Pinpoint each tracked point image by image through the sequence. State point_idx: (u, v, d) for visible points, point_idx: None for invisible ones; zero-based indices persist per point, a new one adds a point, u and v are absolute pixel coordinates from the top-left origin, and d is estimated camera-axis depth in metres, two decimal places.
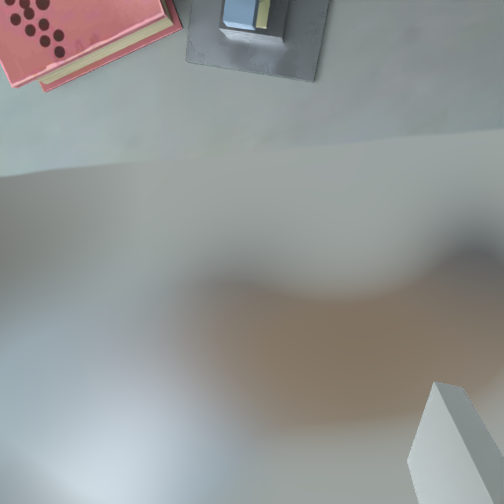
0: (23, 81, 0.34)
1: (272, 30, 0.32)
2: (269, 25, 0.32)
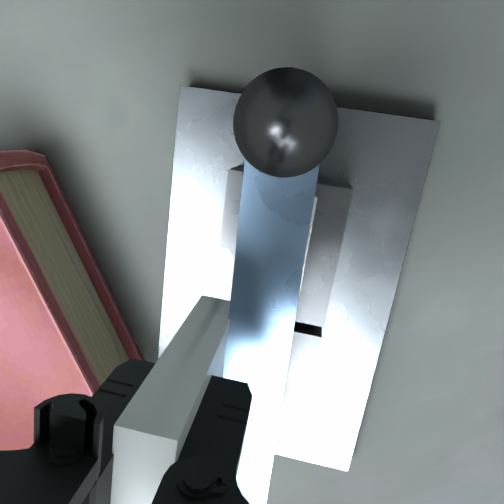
0: None
1: (283, 437, 0.20)
2: (278, 431, 0.20)
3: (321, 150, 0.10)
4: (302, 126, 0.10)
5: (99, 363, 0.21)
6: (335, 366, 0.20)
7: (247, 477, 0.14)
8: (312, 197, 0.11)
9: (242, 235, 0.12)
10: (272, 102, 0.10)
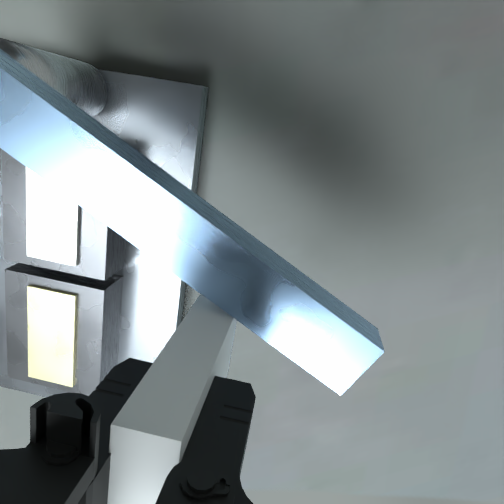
0: None
1: (84, 388, 0.21)
2: (78, 382, 0.21)
3: None
4: None
5: None
6: (141, 323, 0.22)
7: (276, 302, 0.12)
8: (10, 77, 0.12)
9: (24, 159, 0.12)
10: None
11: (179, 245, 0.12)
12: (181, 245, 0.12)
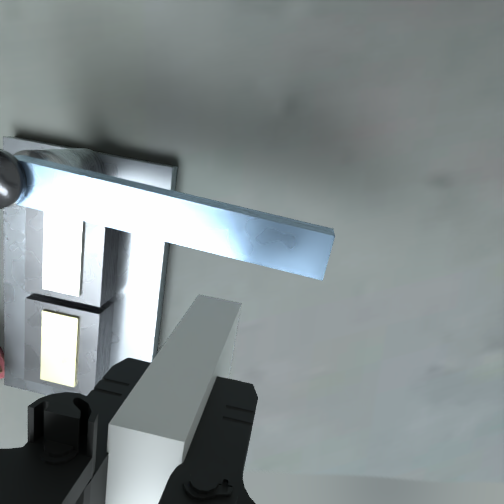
0: None
1: (83, 388, 0.27)
2: (79, 383, 0.27)
3: (1, 159, 0.18)
4: None
5: None
6: (127, 338, 0.28)
7: (251, 234, 0.18)
8: (38, 166, 0.18)
9: (64, 212, 0.19)
10: None
11: (176, 224, 0.18)
12: (177, 223, 0.18)
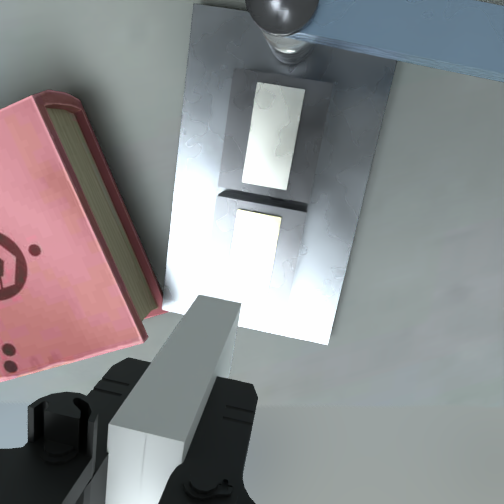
0: None
1: (274, 304, 0.24)
2: (270, 298, 0.24)
3: None
4: None
5: (123, 274, 0.25)
6: (318, 249, 0.25)
7: None
8: None
9: (363, 39, 0.15)
10: (266, 0, 0.14)
11: None
12: None
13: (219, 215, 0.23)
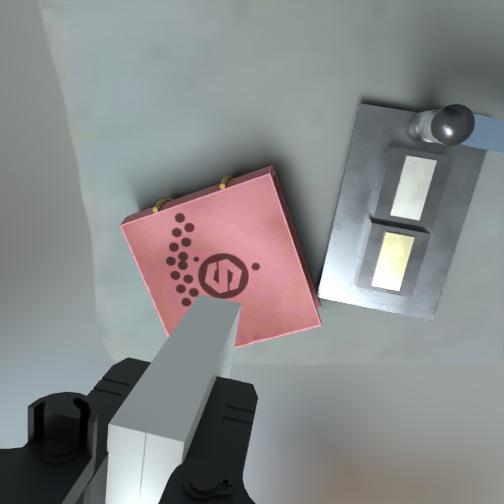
0: None
1: (404, 292, 0.37)
2: (401, 288, 0.37)
3: (467, 111, 0.27)
4: (456, 118, 0.27)
5: None
6: (430, 256, 0.38)
7: None
8: (482, 116, 0.28)
9: (493, 148, 0.28)
10: (444, 128, 0.27)
11: None
12: None
13: (372, 235, 0.36)
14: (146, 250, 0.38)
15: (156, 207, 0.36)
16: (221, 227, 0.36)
